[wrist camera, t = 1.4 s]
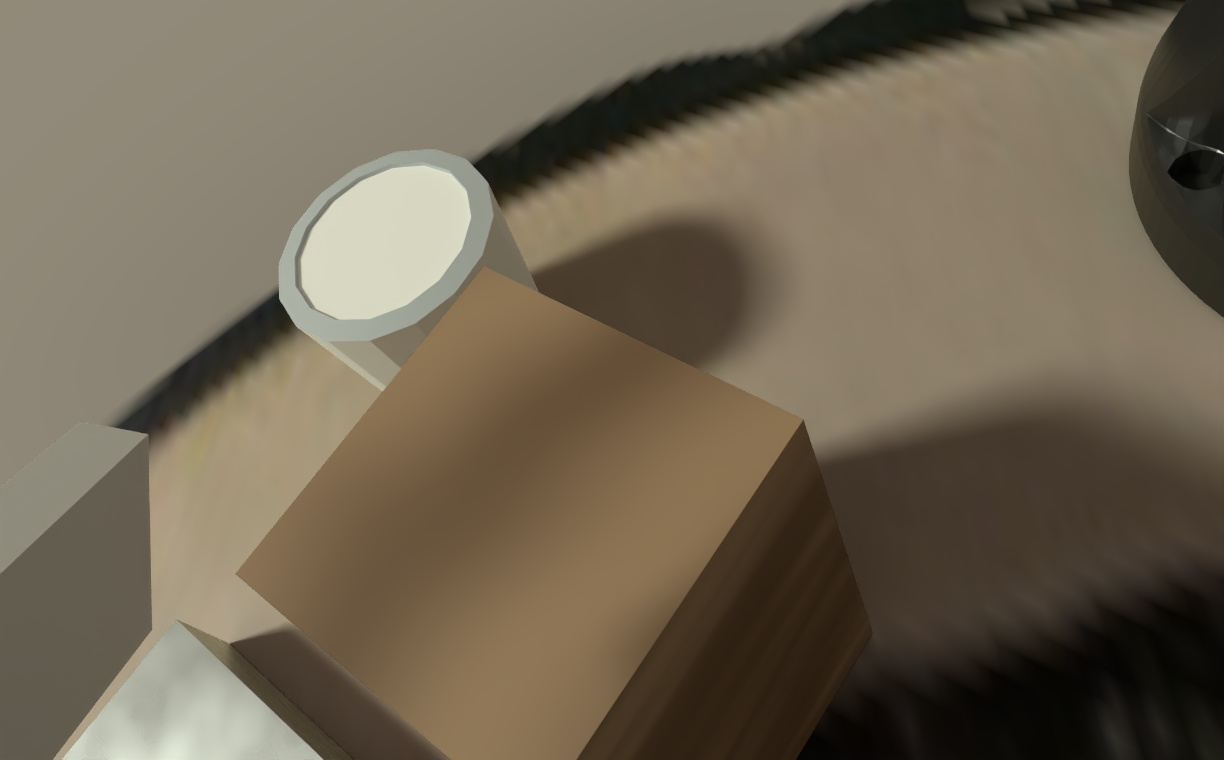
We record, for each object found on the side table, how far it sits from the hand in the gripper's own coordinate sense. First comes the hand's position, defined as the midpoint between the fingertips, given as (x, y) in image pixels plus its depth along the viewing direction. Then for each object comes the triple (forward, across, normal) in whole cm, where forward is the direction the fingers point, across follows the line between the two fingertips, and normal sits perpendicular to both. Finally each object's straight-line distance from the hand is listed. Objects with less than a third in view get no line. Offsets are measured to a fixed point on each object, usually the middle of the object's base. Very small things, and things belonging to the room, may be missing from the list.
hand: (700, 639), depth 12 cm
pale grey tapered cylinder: (+22, -6, -8) cm, 24 cm away
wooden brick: (+12, +2, -11) cm, 16 cm away
